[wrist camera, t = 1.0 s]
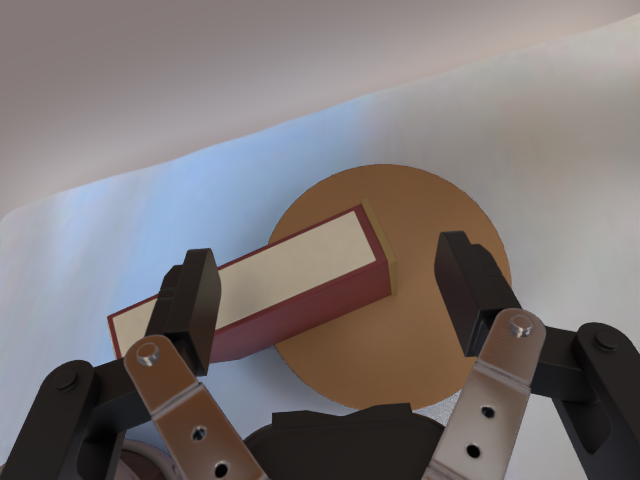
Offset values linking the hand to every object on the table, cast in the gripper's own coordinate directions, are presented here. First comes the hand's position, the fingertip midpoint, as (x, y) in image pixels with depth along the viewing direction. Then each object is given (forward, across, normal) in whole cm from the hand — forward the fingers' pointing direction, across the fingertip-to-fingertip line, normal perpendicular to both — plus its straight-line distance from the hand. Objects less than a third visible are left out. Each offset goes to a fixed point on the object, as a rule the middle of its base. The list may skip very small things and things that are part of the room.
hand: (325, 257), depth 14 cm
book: (+13, -3, +15) cm, 20 cm away
